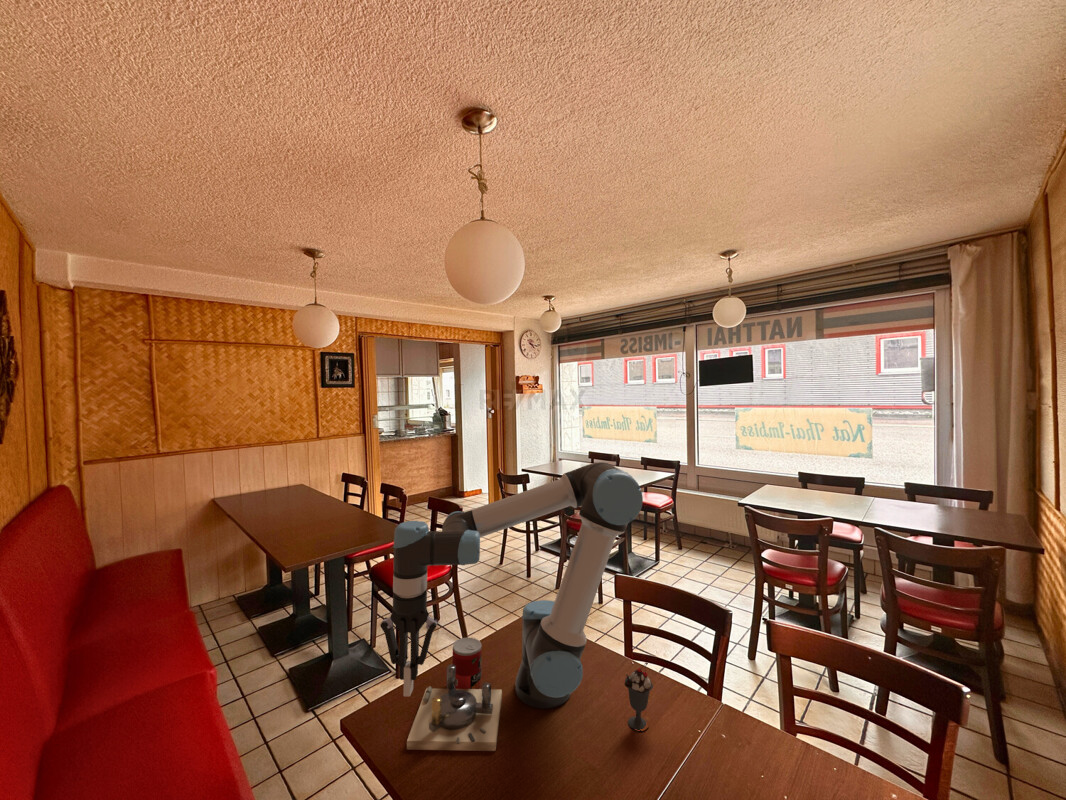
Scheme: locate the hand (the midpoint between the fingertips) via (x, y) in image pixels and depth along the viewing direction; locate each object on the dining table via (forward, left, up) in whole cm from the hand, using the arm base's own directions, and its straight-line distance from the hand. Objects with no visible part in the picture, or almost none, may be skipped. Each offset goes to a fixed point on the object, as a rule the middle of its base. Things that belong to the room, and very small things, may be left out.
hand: (408, 692), depth 102 cm
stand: (-10, -6, -11) cm, 17 cm away
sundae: (-54, -6, -12) cm, 56 cm away
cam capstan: (-9, -5, -9) cm, 14 cm away
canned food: (-10, -20, -12) cm, 25 cm away
